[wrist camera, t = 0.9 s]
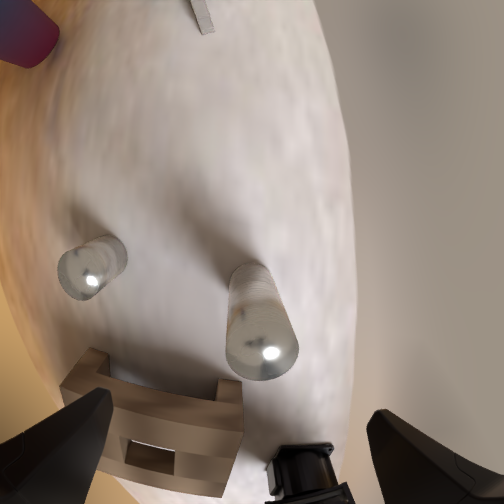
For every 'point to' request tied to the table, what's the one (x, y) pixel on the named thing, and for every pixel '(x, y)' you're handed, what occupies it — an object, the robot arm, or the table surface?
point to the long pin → (258, 326)
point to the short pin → (91, 266)
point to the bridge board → (164, 430)
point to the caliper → (202, 16)
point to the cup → (25, 33)
